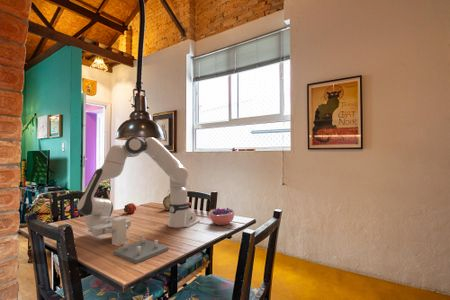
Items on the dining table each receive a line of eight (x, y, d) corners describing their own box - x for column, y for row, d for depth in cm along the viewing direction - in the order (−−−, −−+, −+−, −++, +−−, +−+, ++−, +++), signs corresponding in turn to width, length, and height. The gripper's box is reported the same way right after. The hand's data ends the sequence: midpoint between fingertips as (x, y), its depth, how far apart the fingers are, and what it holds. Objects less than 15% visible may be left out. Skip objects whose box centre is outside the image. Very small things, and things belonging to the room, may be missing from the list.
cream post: (120, 241, 133) (120, 217, 133) (126, 243, 130) (126, 218, 130) (111, 244, 129) (112, 219, 129) (117, 246, 126) (117, 220, 126)
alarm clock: (162, 211, 200) (163, 190, 200) (162, 209, 205) (162, 189, 205) (176, 210, 203) (176, 190, 203) (176, 208, 208) (176, 189, 208)
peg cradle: (144, 242, 132) (144, 232, 132) (168, 249, 122) (168, 239, 122) (112, 253, 117) (112, 243, 117) (136, 263, 107) (136, 251, 107)
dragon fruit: (125, 217, 186) (132, 215, 198) (134, 210, 186) (141, 209, 198) (119, 208, 187) (126, 206, 199) (129, 201, 188) (135, 200, 200)
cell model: (239, 222, 170) (239, 205, 170) (224, 230, 153) (224, 211, 153) (218, 218, 179) (218, 202, 179) (202, 225, 162) (202, 208, 162)
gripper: (86, 223, 128) (100, 228, 120) (122, 215, 145) (136, 219, 137) (86, 236, 128) (100, 241, 120) (122, 226, 145) (136, 230, 137)
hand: (120, 229), depth 129 cm, fingers open, 7 cm apart
